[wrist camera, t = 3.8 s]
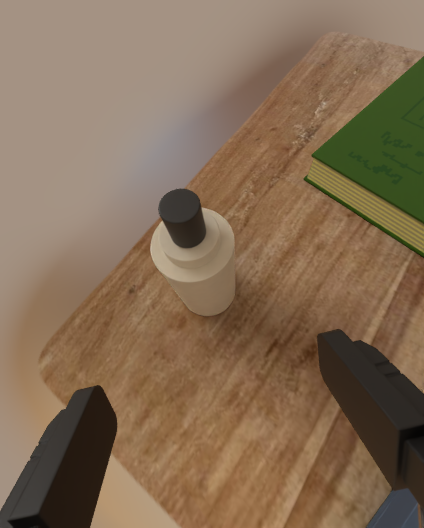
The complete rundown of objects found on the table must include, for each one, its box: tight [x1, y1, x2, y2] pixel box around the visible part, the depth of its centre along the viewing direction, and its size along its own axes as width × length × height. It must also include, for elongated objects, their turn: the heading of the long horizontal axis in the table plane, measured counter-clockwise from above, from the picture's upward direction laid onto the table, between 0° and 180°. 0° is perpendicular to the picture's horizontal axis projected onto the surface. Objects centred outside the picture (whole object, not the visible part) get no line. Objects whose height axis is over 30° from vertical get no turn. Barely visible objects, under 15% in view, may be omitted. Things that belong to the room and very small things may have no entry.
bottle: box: [151, 189, 236, 316], centre depth 19 cm, size 6×6×14 cm
